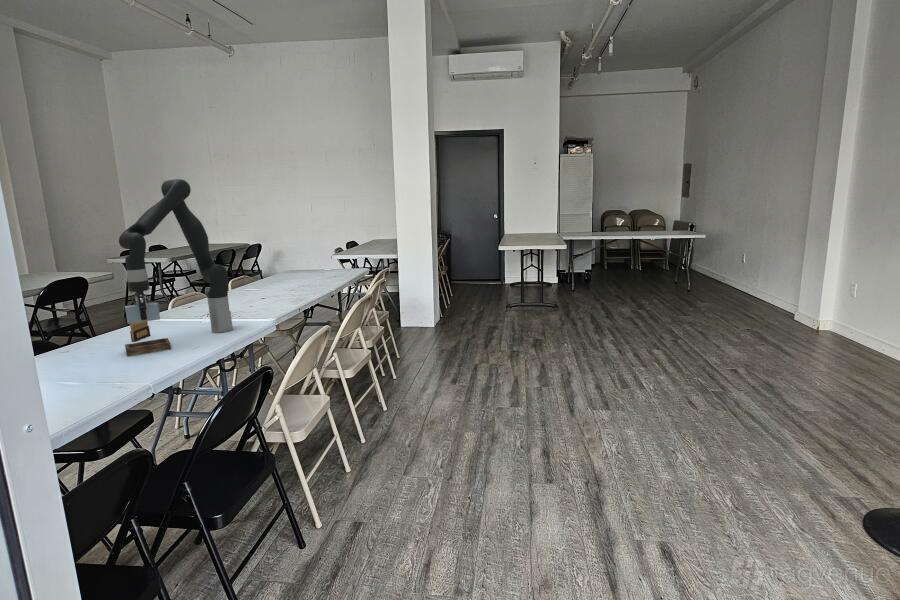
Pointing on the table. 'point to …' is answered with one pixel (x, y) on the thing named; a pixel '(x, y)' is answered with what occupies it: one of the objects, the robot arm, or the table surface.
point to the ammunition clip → (139, 331)
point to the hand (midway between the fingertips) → (143, 318)
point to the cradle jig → (147, 347)
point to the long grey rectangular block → (134, 313)
